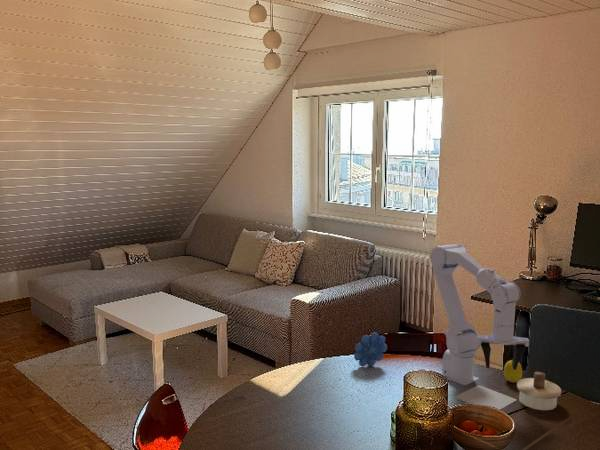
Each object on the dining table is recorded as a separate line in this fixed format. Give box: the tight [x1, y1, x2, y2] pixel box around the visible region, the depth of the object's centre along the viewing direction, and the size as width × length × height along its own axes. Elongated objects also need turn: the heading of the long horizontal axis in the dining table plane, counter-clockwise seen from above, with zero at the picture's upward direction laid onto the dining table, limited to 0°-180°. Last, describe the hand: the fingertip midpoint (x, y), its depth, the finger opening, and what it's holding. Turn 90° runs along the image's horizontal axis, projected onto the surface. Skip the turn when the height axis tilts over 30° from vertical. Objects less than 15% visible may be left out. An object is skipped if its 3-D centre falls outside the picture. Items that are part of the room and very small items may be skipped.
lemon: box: [503, 359, 523, 384], centre depth 181 cm, size 6×6×8 cm
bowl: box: [518, 391, 558, 411], centre depth 167 cm, size 10×10×4 cm
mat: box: [454, 384, 518, 411], centre depth 170 cm, size 13×13×1 cm
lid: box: [516, 371, 562, 399], centre depth 166 cm, size 12×12×5 cm
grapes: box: [353, 331, 388, 367], centre depth 194 cm, size 12×7×12 cm, turn 101°
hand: (500, 367), depth 169 cm, fingers open, 7 cm apart
